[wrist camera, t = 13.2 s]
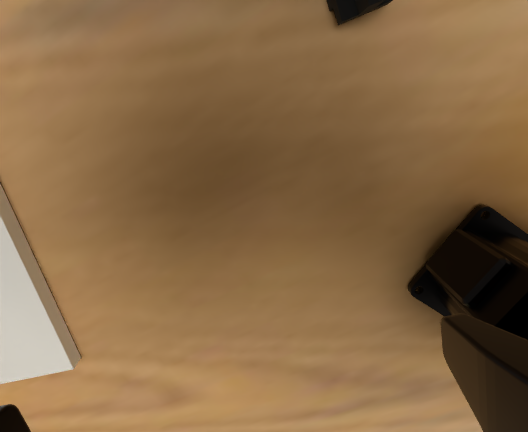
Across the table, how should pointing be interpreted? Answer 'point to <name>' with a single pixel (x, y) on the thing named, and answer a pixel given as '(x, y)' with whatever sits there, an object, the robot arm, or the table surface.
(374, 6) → the security camera
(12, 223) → the plate
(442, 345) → the robot arm
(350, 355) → the table surface
